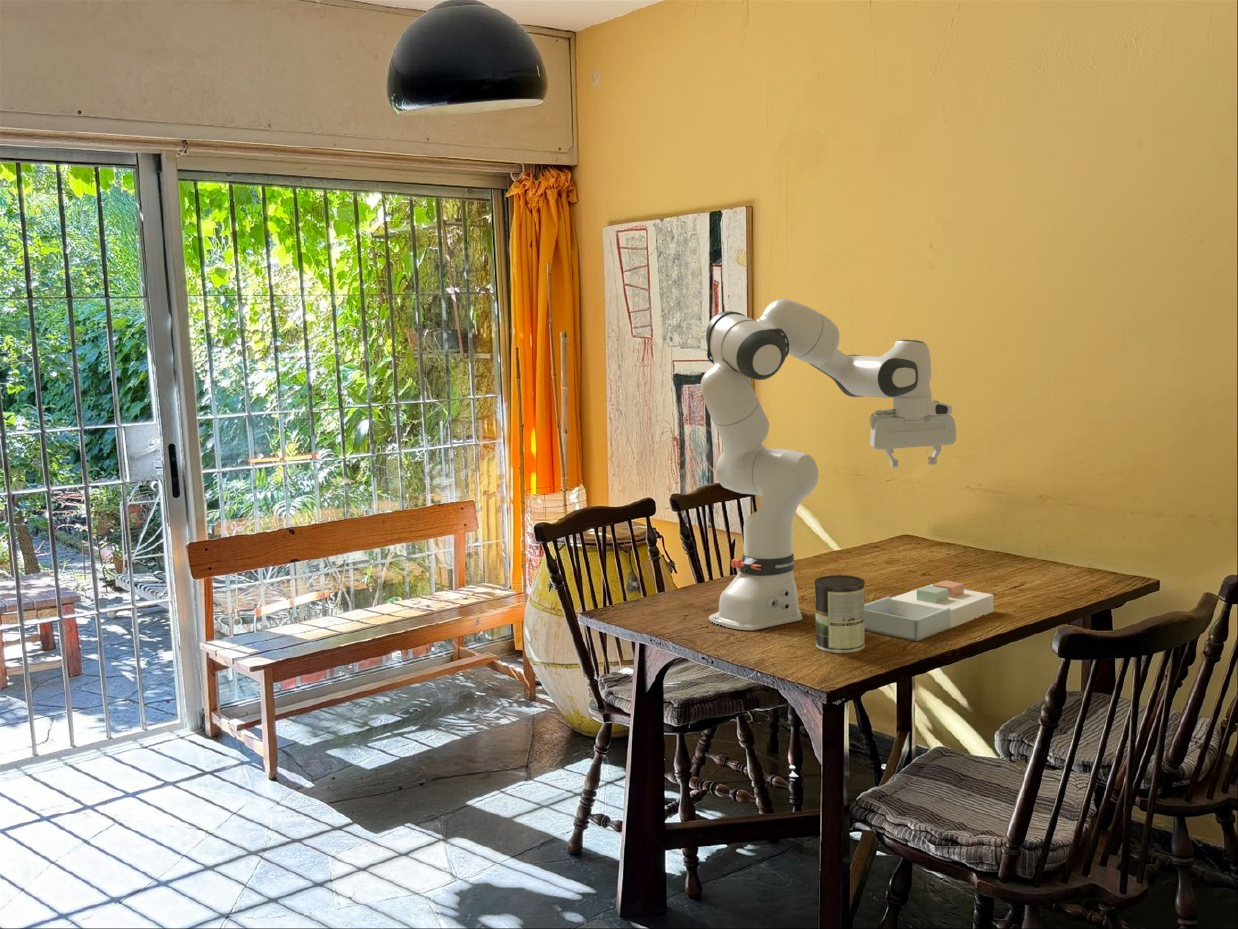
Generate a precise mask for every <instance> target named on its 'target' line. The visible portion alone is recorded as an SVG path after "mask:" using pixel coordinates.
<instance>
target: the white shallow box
mask: <svg viewBox="0 0 1238 929" xmlns="http://www.w3.org/2000/svg"><path fill="white" fill-rule="evenodd" d="M933 584H934V583H933ZM933 584H929V585H925V586H923V587H926V586H933ZM923 587H920V588H923ZM920 588H917V589H920ZM917 589H913V590H910V591H908V592H905V593H902V594H898V595H896V596H895V595H894V596H893V597H891V614H893V615H898V616H903V617H908V618H913V619H919V618H921V617H924V616H927V615H930V614H932V613H935V612H938V611H941V610H943V609H946V608H950V629H952V628H955V627H958V626H960V625H962V624H965V623H967V622H971V621H973V620H976V619H979V618H980V616H981V617H983V616H982V615H984V616H986V615H989V614H991V613H994V610H995V609H994V607H995V606H994V602H995V601H994V597H995V595H994V594H992V593H986V592H981V591H974V590H968V589H964V594H962V595H959V596H956V597H953V598H949V597H948V600H945V601H942V602H939V603H937V604H935V603H930V602H924V601H919V600H917ZM975 618H976V619H975Z"/></svg>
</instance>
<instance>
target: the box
mask: <svg viewBox="0 0 1238 929" xmlns="http://www.w3.org/2000/svg"><path fill="white" fill-rule="evenodd" d="M891 598H892V597H891V596H886V597H883V598H880V599H877V600H874V601H871V602H869V603H864V631H867V632H872V633H877V634H881V635H886V636H890V637H896V638H900V639H904V640H908V641H913V642H919V641H921V640H924V639H926V638H930V637H932V636H934V635H936V634H939V632H940V633H942V632H945V631H947V630H950V629H951V628H950V608H946V609H943V610H941V611H938V612H935V613H932V614H930V615H927V616H924V617H921V618H919V619H913V618H908V617H903V616H898V615H893V614H891Z"/></svg>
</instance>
